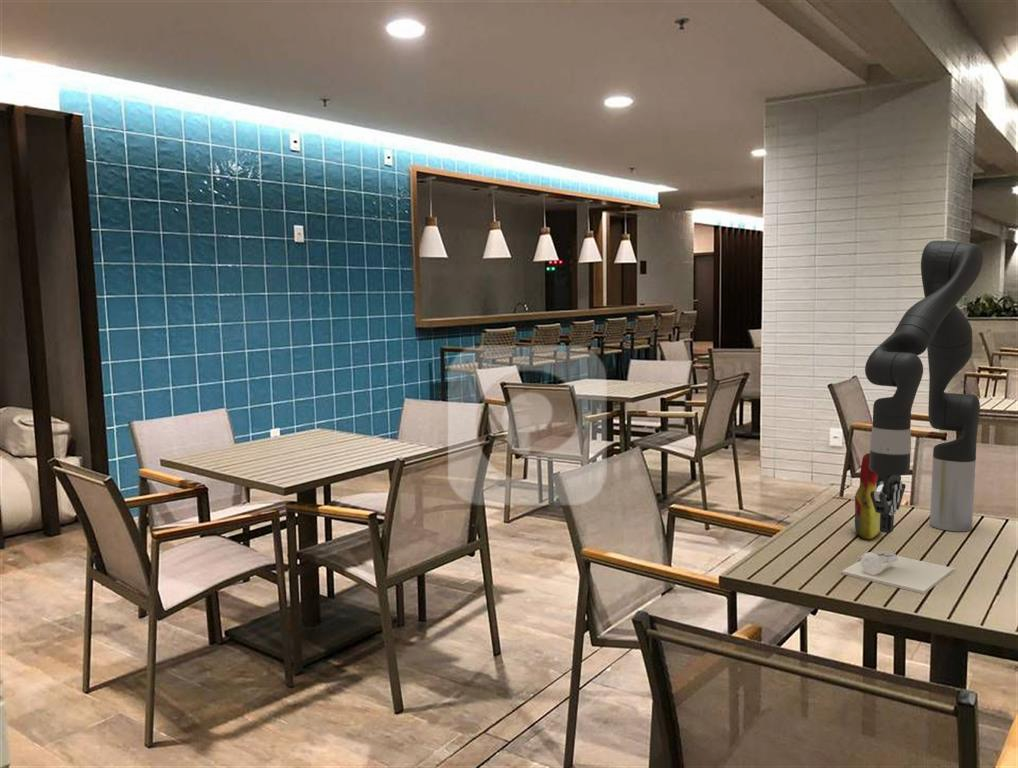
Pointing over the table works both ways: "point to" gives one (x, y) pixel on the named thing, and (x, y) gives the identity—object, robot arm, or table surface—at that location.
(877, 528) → the bottle
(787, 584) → the table surface
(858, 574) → the mat
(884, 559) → the milkshake
